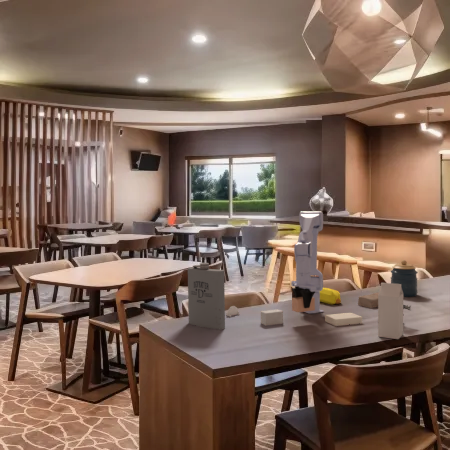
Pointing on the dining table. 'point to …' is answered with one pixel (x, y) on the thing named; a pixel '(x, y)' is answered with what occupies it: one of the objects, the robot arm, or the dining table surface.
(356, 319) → the cream base brick
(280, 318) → the grey brick
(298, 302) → the terracotta brick
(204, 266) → the flask
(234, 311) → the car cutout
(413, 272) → the canister
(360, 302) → the brick
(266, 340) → the dining table surface
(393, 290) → the milk carton
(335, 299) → the yellow banana
